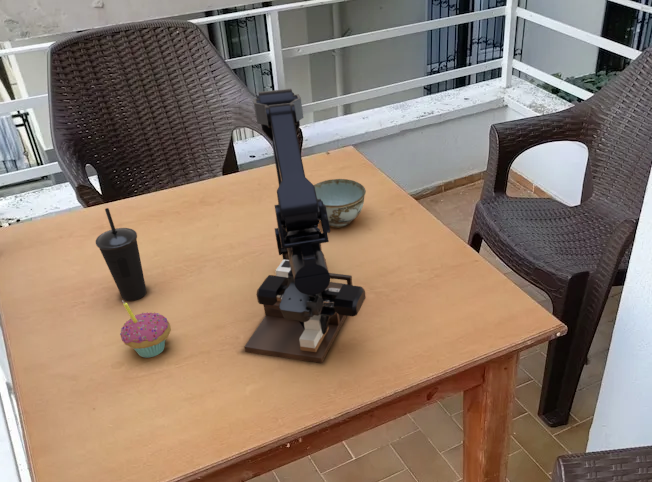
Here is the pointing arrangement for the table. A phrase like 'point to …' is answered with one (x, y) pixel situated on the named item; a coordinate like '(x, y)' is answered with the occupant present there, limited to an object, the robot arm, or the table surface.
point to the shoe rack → (292, 332)
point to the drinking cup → (123, 260)
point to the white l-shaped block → (283, 271)
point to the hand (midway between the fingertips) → (316, 331)
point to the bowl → (341, 200)
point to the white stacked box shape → (312, 334)
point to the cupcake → (145, 332)
